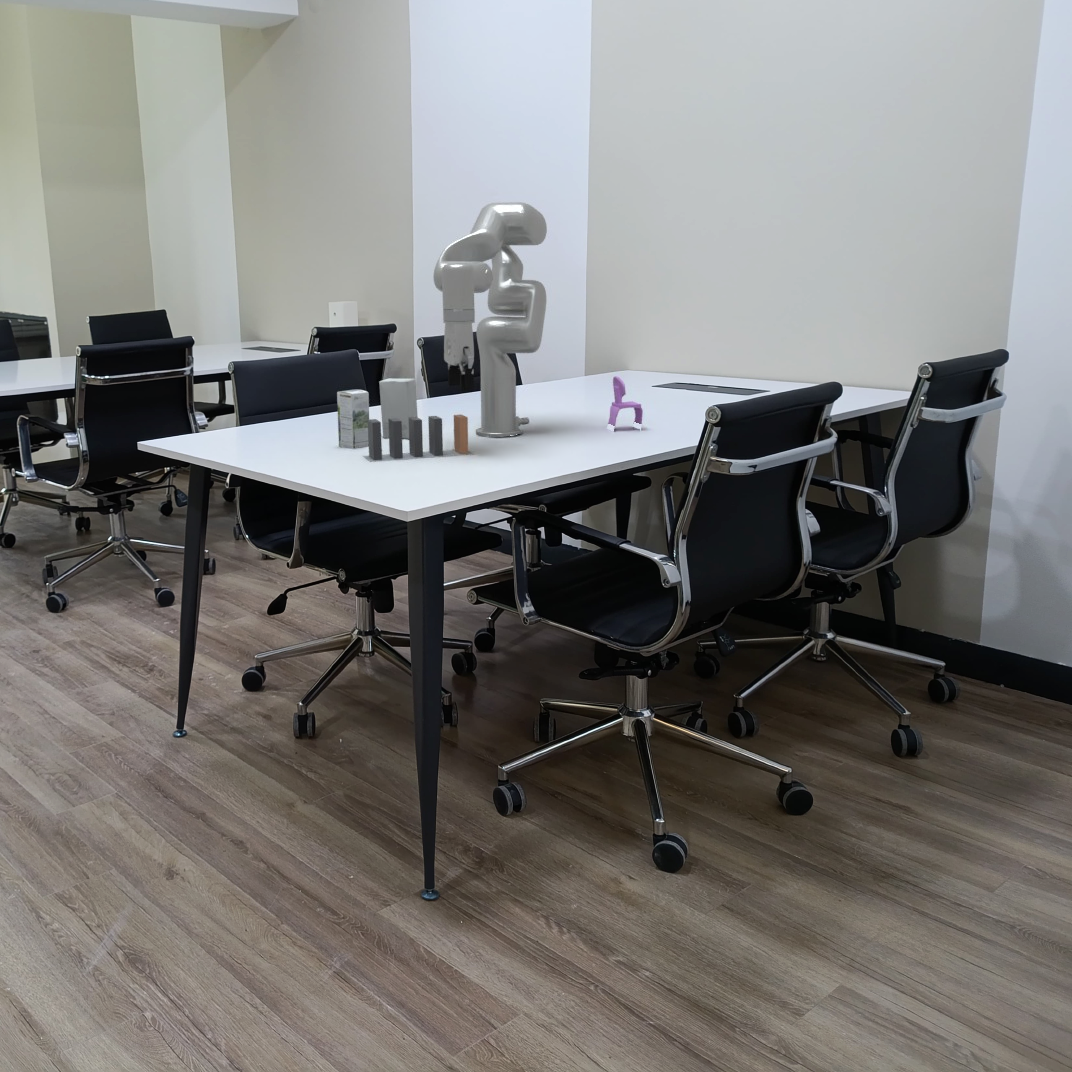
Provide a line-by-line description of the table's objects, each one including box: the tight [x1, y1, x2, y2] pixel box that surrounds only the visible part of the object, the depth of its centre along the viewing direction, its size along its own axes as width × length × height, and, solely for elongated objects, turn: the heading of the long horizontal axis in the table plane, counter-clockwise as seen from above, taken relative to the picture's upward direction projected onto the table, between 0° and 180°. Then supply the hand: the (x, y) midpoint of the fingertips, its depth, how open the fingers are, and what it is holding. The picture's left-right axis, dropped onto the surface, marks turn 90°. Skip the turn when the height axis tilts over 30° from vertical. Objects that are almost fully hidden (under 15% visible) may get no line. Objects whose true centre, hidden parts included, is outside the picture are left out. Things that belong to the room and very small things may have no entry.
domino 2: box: [388, 418, 404, 459], centre depth 252 cm, size 2×5×9 cm, turn 21°
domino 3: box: [408, 417, 424, 457], centre depth 254 cm, size 2×5×9 cm, turn 21°
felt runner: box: [362, 449, 475, 463], centre depth 255 cm, size 26×8×1 cm, turn 111°
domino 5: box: [453, 414, 469, 454], centre depth 258 cm, size 2×5×9 cm, turn 22°
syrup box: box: [336, 389, 370, 450], centre depth 266 cm, size 6×6×14 cm
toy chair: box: [607, 376, 644, 427], centre depth 294 cm, size 8×9×15 cm
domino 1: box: [368, 418, 383, 460], centre depth 250 cm, size 2×5×9 cm, turn 21°
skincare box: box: [378, 377, 419, 440], centre depth 281 cm, size 8×7×16 cm
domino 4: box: [427, 415, 444, 456], centre depth 255 cm, size 2×5×9 cm, turn 21°
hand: (460, 388), depth 255 cm, fingers open, 9 cm apart
